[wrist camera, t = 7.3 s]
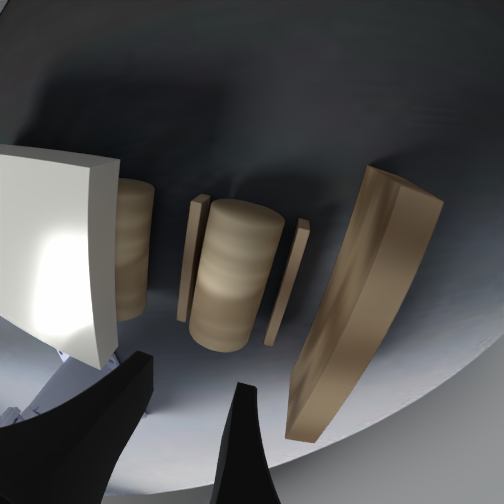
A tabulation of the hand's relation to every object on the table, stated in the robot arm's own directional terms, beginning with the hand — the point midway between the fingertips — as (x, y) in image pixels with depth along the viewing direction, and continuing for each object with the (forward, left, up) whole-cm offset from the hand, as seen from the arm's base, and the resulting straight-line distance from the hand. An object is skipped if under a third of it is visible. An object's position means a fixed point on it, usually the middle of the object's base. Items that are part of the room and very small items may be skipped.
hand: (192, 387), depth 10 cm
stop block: (-2, -6, -10) cm, 12 cm away
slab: (+5, +13, -6) cm, 15 cm away
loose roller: (0, 0, -10) cm, 10 cm away
